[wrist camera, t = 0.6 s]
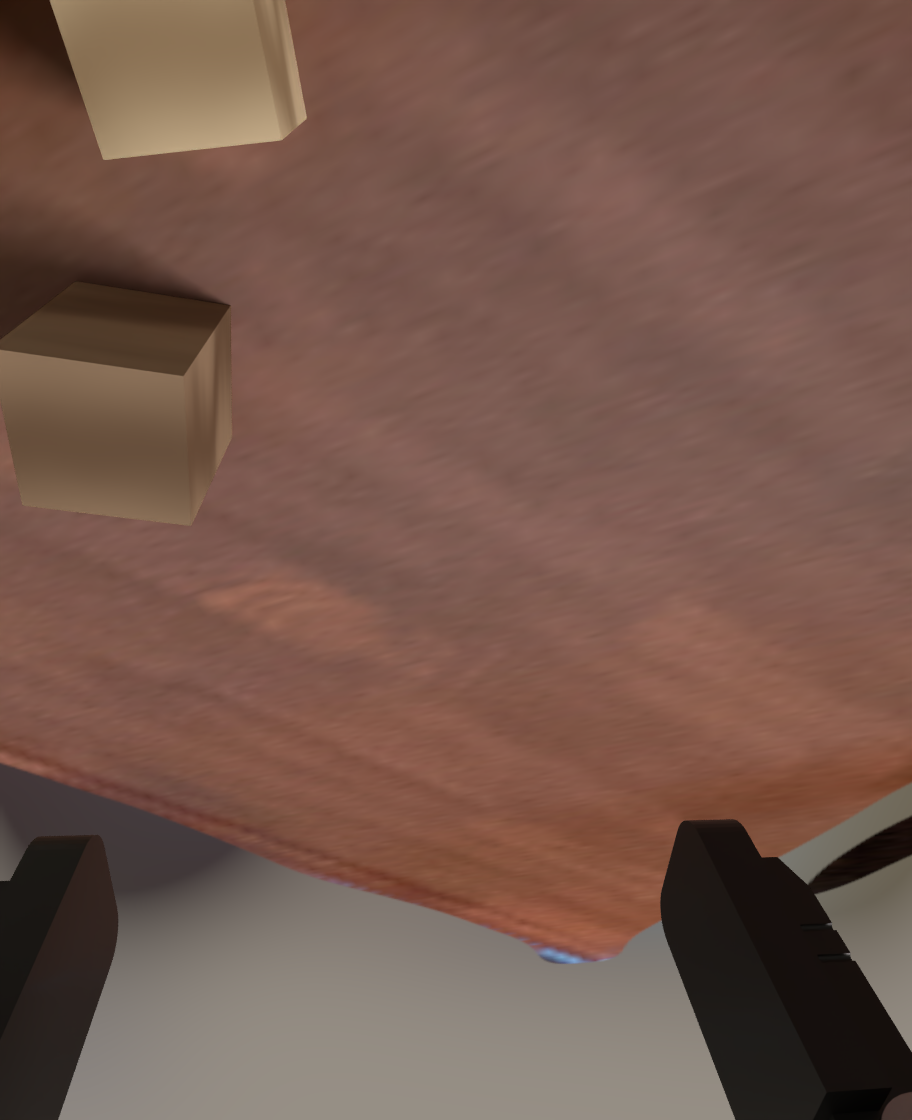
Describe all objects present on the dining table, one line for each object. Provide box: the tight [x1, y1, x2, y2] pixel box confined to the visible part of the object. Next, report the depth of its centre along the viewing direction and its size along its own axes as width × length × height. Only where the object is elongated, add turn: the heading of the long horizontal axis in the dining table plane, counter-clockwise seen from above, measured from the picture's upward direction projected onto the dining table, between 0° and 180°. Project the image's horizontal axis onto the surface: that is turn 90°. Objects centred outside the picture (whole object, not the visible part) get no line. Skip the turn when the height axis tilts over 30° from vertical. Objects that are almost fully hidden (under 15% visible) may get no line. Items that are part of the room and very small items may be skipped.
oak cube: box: [50, 0, 307, 160], centre depth 19 cm, size 4×4×4 cm
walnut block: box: [0, 281, 232, 526], centre depth 24 cm, size 5×5×6 cm
